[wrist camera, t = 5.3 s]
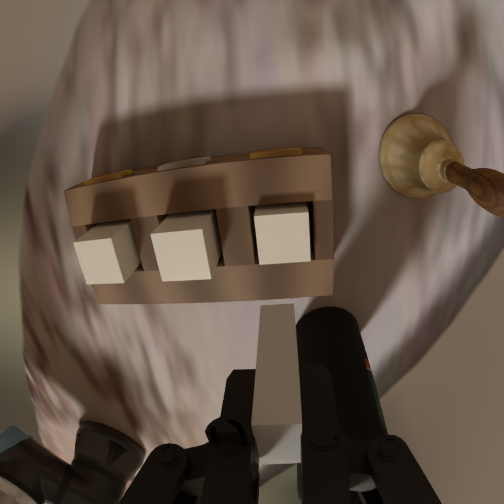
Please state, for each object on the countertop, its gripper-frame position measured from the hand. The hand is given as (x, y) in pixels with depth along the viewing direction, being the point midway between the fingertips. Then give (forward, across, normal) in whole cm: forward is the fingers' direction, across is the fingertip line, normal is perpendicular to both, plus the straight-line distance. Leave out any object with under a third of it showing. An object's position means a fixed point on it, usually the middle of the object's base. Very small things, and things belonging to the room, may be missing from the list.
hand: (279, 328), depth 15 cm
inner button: (+14, -15, 0) cm, 20 cm away
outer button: (+15, 0, 0) cm, 15 cm away
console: (+17, -7, 0) cm, 18 cm away
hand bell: (+17, +14, +5) cm, 22 cm away
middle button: (+14, -7, 0) cm, 15 cm away
